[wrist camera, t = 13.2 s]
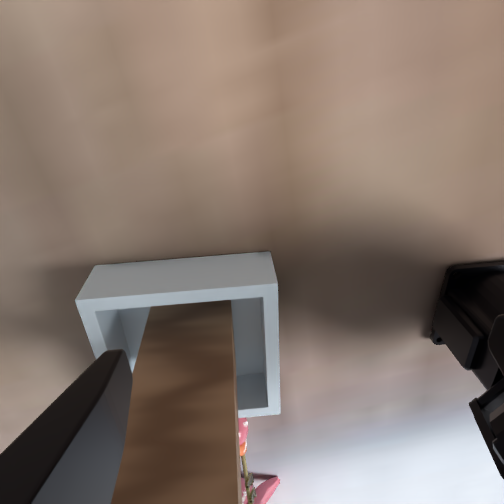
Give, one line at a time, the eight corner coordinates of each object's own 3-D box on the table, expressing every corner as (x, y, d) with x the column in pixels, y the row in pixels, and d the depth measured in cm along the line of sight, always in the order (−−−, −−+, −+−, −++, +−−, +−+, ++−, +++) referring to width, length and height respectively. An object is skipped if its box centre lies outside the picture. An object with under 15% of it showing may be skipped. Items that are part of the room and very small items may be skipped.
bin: (270, 251, 23) (277, 283, 19) (274, 373, 28) (280, 414, 25) (94, 265, 22) (74, 300, 19) (132, 386, 27) (120, 429, 24)
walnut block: (230, 298, 23) (239, 537, 12) (235, 356, 26) (246, 599, 14) (151, 304, 23) (83, 552, 12) (163, 362, 26) (117, 613, 14)
